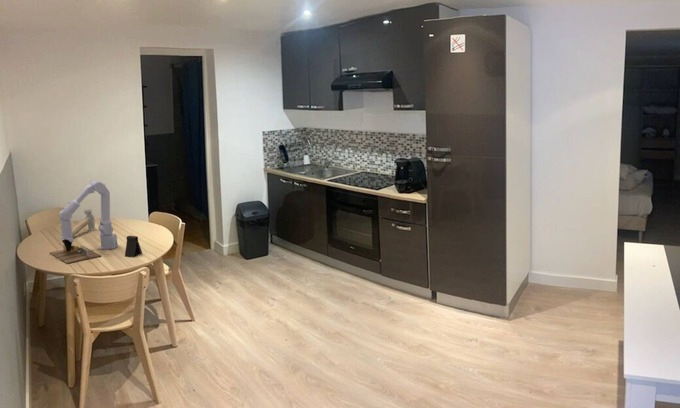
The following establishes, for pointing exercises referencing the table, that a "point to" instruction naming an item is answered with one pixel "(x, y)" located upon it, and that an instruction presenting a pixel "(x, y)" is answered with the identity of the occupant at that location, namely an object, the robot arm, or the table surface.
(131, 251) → the phone stand
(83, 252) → the strip
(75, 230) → the hammer
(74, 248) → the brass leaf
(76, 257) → the walnut board
